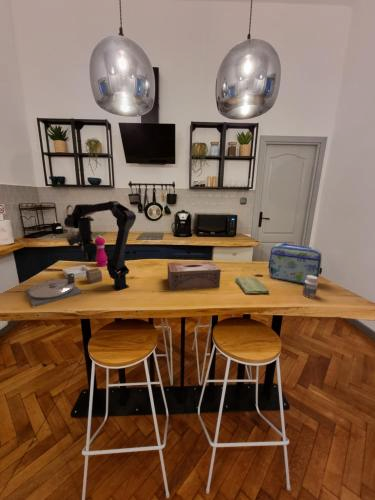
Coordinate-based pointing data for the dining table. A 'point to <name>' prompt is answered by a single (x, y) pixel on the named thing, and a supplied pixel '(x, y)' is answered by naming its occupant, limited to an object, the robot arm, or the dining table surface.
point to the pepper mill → (100, 252)
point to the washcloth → (251, 285)
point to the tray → (76, 271)
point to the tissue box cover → (193, 275)
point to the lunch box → (294, 262)
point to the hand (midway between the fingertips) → (87, 258)
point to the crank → (53, 288)
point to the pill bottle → (310, 286)
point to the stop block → (94, 275)
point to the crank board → (43, 301)
